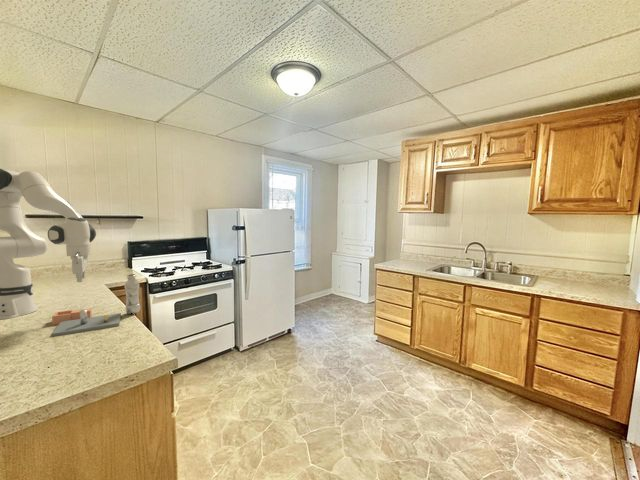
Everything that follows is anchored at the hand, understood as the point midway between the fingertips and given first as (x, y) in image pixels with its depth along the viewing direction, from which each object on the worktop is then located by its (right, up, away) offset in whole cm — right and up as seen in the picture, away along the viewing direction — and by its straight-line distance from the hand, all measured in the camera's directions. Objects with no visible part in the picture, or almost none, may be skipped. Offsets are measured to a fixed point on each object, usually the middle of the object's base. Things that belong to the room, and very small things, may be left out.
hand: (81, 280), depth 131 cm
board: (+10, -20, -7) cm, 23 cm away
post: (+13, -18, -8) cm, 24 cm away
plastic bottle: (+19, -19, +9) cm, 28 cm away
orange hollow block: (-3, -19, -1) cm, 19 cm away
